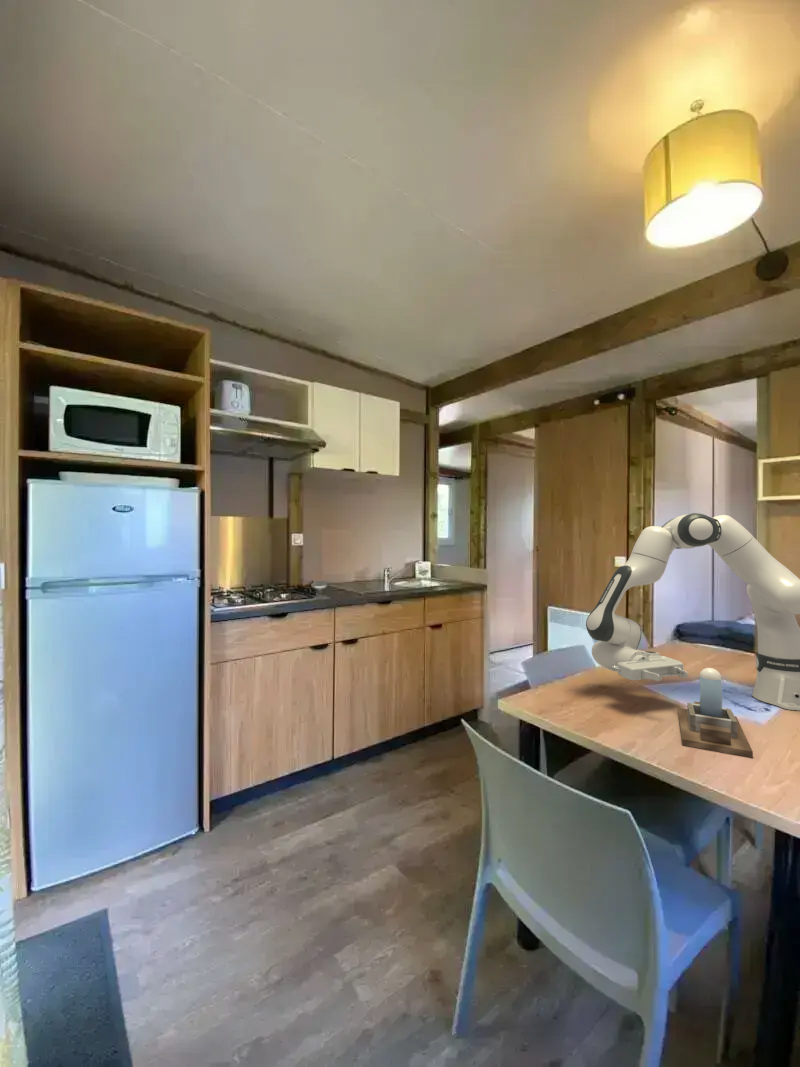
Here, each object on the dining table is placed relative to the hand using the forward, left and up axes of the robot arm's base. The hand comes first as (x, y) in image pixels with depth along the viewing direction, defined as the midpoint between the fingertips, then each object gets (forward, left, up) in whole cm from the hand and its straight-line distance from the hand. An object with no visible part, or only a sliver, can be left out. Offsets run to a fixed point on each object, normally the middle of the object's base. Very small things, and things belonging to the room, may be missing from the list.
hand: (673, 676), depth 132 cm
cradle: (-8, +8, -12) cm, 16 cm away
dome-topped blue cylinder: (-8, +8, -10) cm, 15 cm away
